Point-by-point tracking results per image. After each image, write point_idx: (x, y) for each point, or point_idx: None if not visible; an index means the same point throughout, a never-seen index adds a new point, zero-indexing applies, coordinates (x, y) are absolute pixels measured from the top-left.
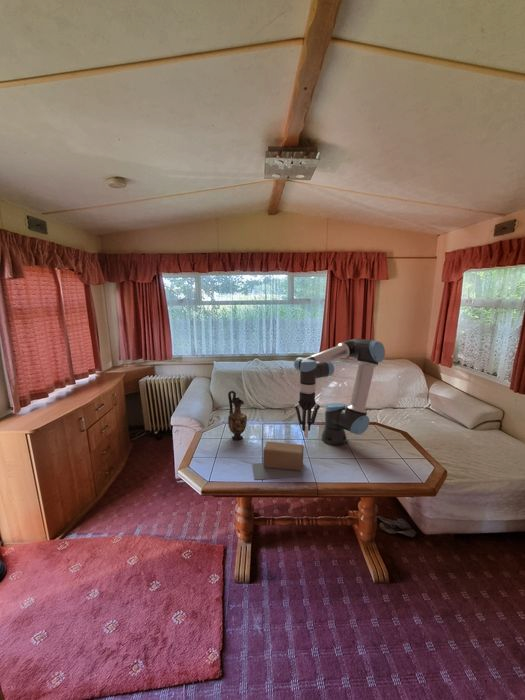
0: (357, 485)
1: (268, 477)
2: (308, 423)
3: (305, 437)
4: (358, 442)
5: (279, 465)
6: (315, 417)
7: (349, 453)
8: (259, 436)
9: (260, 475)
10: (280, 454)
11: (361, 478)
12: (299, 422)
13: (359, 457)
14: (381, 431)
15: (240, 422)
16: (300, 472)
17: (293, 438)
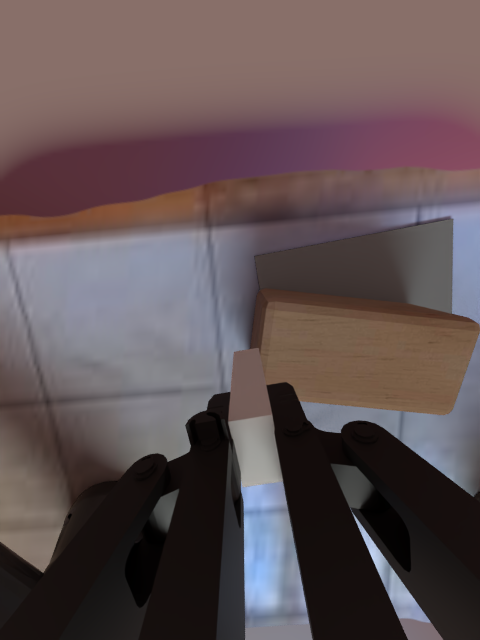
0: (50, 219)
1: (394, 236)
2: (225, 449)
3: (255, 349)
4: (29, 507)
5: (354, 298)
6: (23, 607)
7: (67, 432)
8: None
9: (425, 248)
10: (379, 307)
11: (32, 268)
12: (400, 441)
13: (31, 408)
14: None
15: None
16: (264, 284)
17: (273, 516)
